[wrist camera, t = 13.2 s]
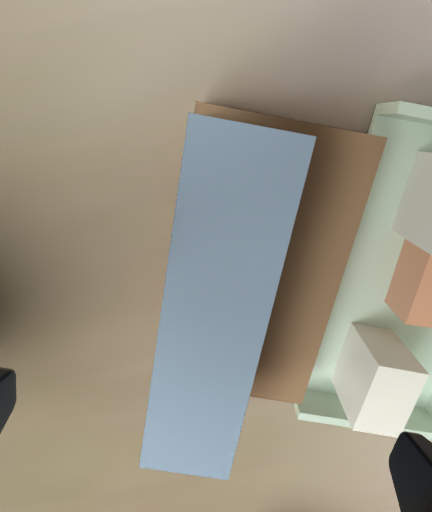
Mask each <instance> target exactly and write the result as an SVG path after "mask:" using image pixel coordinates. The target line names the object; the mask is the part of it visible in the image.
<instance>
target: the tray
mask: <svg viewBox="0 0 432 512" xmlns="http://www.w3.org/2000/svg"><path fill="white" fill-rule="evenodd" d="M367 134H371V135H376V136H381V137H387V141H386V144H385V147H384V150H383V154H382V157H381V160H380V163H379V166H378V169H377V172H376V175H375V178H374V181H373V185H372V188H371V191H370V194H369V197H368V200H367V203H366V206H365V209H364V213H363V216H362V219H361V222H360V225H359V228H358V231H357V234H356V237H355V240H354V244H353V247H352V250H351V253H350V256H349V259H348V262H347V265H346V268H345V271H344V275H343V278H342V281H341V284H340V287H339V290H338V293H337V296H336V299H335V303H334V306H333V309H332V312H331V315H330V318H329V321H328V324H327V327H326V330H325V334H324V337H323V340H322V343H321V346H320V349H319V352H318V355H317V358H316V362H315V365H314V368H313V371H312V374H311V377H310V380H309V383H308V386H307V389H306V393H305V396H304V399H303V402H302V404H296V403H294V407H295V411H296V415H297V419H298V420H304V421H311V422H317V423H324V424H330V425H337V426H343V427H350V428H351V426H350V423H349V421H348V419H347V416H346V414H345V411H344V409H343V407H342V404H341V402H340V400H339V397H338V395H337V393H336V390H335V388H334V385H333V383H332V381H331V376H332V373H333V371H334V368H335V365H336V362H337V360H338V357H339V354H340V351H341V349H342V346H343V343H344V340H345V338H346V335H347V332H348V330H349V327H350V324H351V322H352V323H358V324H363V325H369V326H374V327H380V328H385V329H391V330H393V331H394V332H395V333H396V334H397V336H398V337H399V338H400V339H401V340H402V342H403V343H404V344H405V345H406V347H407V348H408V349H409V350H410V351H411V353H412V354H413V355H414V356H415V357H416V359H417V360H418V361H419V362H420V364H421V365H422V366H423V367H424V368H425V370H426V371H427V372H428V373H429V374H430V375H429V377H428V379H427V381H426V383H425V386H424V388H423V390H422V392H421V394H420V396H419V398H418V400H417V402H416V404H415V407H414V409H413V411H412V413H411V415H410V417H409V419H408V421H407V423H406V425H405V427H404V430H403V432H404V431H407V432H413V433H418V434H421V435H423V436H424V437H425V438H426V439H428V440H432V328H428V327H420V326H413V325H405V324H404V323H403V322H402V320H401V319H400V318H399V317H398V316H397V315H396V314H395V313H394V312H393V310H392V309H391V308H390V307H389V306H388V305H387V304H386V303H385V302H384V301H385V298H386V295H387V292H388V289H389V286H390V283H391V280H392V276H393V273H394V270H395V267H396V264H397V261H398V258H399V255H400V252H401V249H402V246H403V243H404V240H405V238H403V237H402V236H400V235H399V234H397V233H395V232H394V231H392V230H391V226H392V223H393V220H394V217H395V214H396V211H397V209H398V206H399V203H400V200H401V197H402V194H403V191H404V188H405V185H406V182H407V180H408V177H409V174H410V171H411V168H412V165H413V162H414V159H415V156H416V153H417V151H422V152H429V153H432V107H431V106H425V105H420V104H415V103H410V102H405V101H394V102H386V103H379V104H376V107H375V110H374V113H373V117H372V120H371V123H370V127H369V130H368V133H367Z"/></svg>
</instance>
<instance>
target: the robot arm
mask: <svg viewBox="0 0 432 512" xmlns="http://www.w3.org/2000/svg"><path fill="white" fill-rule="evenodd" d="M15 403H16V373H15V371H14V370H12V369H8V368H1V367H0V433H1V431H2V430H3V428H4V426H5V424H6V422H7V420H8V418H9V416H10V414H11V413H12V411H13V409H14V406H15ZM389 468H390V472H391V476H392V480H393V483H394V487H395V491H396V495H397V499H398V502H399V506H400V510H401V512H432V443H431V442H430V441H429V440H428V439H426V438H425V437H424V436H423V435H421V434H418V433H413V432H407V431H404V432H402V433H400V435H399V436H398V439H397V441H396V443H395V445H394V447H393V450H392V452H391V454H390V457H389Z"/></svg>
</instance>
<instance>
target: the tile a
mask: <svg viewBox="0 0 432 512" xmlns="http://www.w3.org/2000/svg"><path fill="white" fill-rule="evenodd" d="M429 375H430V374H429V373H428V372H427V371H426V370H425V368H424V367H423V366H422V365H421V364H420V362H419V361H418V360H417V359H416V357H415V356H414V355H413V354H412V353H411V351H410V350H409V349H408V348H407V347H406V345H405V344H404V343H403V342H402V340H401V339H400V338H399V337H398V336H397V334H396V333H395V332H394V331H393V330H391V329H385V328H380V327H374V326H369V325H363V324H358V323H352V322H351V324H350V327H349V330H348V332H347V335H346V338H345V340H344V343H343V346H342V349H341V351H340V354H339V357H338V360H337V362H336V365H335V368H334V371H333V373H332V376H331V381H332V383H333V385H334V388H335V390H336V393H337V395H338V397H339V400H340V402H341V404H342V407H343V409H344V411H345V414H346V416H347V419H348V421H349V423H350V426H351V428H352V430H354V431H360V432H366V433H372V434H378V435H384V436H390V437H396V438H398V436H399V435H400V433H402V432H403V430H404V427H405V425H406V423H407V421H408V419H409V417H410V415H411V413H412V411H413V409H414V407H415V404H416V402H417V400H418V398H419V396H420V394H421V392H422V390H423V388H424V386H425V383H426V381H427V379H428V377H429Z"/></svg>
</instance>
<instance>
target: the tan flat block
mask: <svg viewBox="0 0 432 512" xmlns="http://www.w3.org/2000/svg"><path fill="white" fill-rule="evenodd" d="M194 114H199V115H204V116H210V117H215V118H220V119H226V120H231V121H236V122H242V123H247V124H252V125H258V126H263V127H268V128H274V129H279V130H284V131H289V132H295V133H300V134H305V135H311V136H316V141H315V145H314V148H313V152H312V156H311V160H310V164H309V168H308V172H307V176H306V180H305V183H304V187H303V191H302V195H301V199H300V203H299V207H298V211H297V214H296V218H295V222H294V226H293V230H292V234H291V238H290V242H289V245H288V249H287V253H286V257H285V261H284V265H283V269H282V273H281V277H280V280H279V284H278V288H277V292H276V296H275V300H274V304H273V308H272V311H271V315H270V319H269V323H268V327H267V331H266V335H265V339H264V343H263V346H262V350H261V354H260V358H259V362H258V366H257V370H256V374H255V377H254V381H253V385H252V389H251V393H250V396H251V397H257V398H264V399H270V400H276V401H283V402H289V403H296V404H302V402H303V399H304V396H305V393H306V389H307V386H308V383H309V380H310V377H311V374H312V371H313V368H314V365H315V362H316V358H317V355H318V352H319V349H320V346H321V343H322V340H323V337H324V334H325V330H326V327H327V324H328V321H329V318H330V315H331V312H332V309H333V306H334V303H335V299H336V296H337V293H338V290H339V287H340V284H341V281H342V278H343V275H344V271H345V268H346V265H347V262H348V259H349V256H350V253H351V250H352V247H353V244H354V240H355V237H356V234H357V231H358V228H359V225H360V222H361V219H362V216H363V213H364V209H365V206H366V203H367V200H368V197H369V194H370V191H371V188H372V185H373V181H374V178H375V175H376V172H377V169H378V166H379V163H380V160H381V157H382V154H383V150H384V147H385V144H386V141H387V137H381V136H376V135H371V134H366V133H360V132H355V131H350V130H344V129H339V128H334V127H329V126H323V125H318V124H313V123H307V122H302V121H297V120H292V119H286V118H281V117H276V116H271V115H265V114H260V113H255V112H249V111H244V110H239V109H234V108H228V107H223V106H218V105H212V104H207V103H202V102H197V101H196V106H195V113H194Z"/></svg>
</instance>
